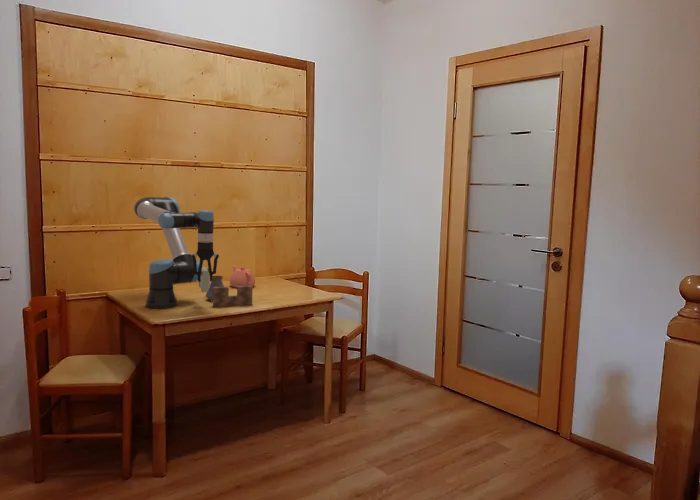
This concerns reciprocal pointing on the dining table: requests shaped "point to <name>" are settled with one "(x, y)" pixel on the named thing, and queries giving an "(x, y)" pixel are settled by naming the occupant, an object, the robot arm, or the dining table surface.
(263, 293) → the dining table surface
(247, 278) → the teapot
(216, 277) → the coffee pot
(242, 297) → the walnut slotted plate
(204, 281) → the green slotted plate
